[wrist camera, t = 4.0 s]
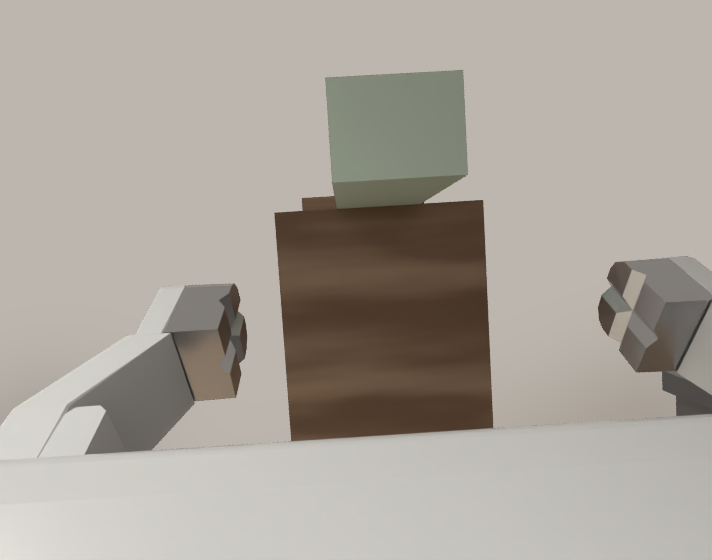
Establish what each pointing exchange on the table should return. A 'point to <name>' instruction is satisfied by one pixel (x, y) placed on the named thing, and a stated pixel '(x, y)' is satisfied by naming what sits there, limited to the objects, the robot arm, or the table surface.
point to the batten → (395, 137)
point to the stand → (384, 318)
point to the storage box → (686, 395)
